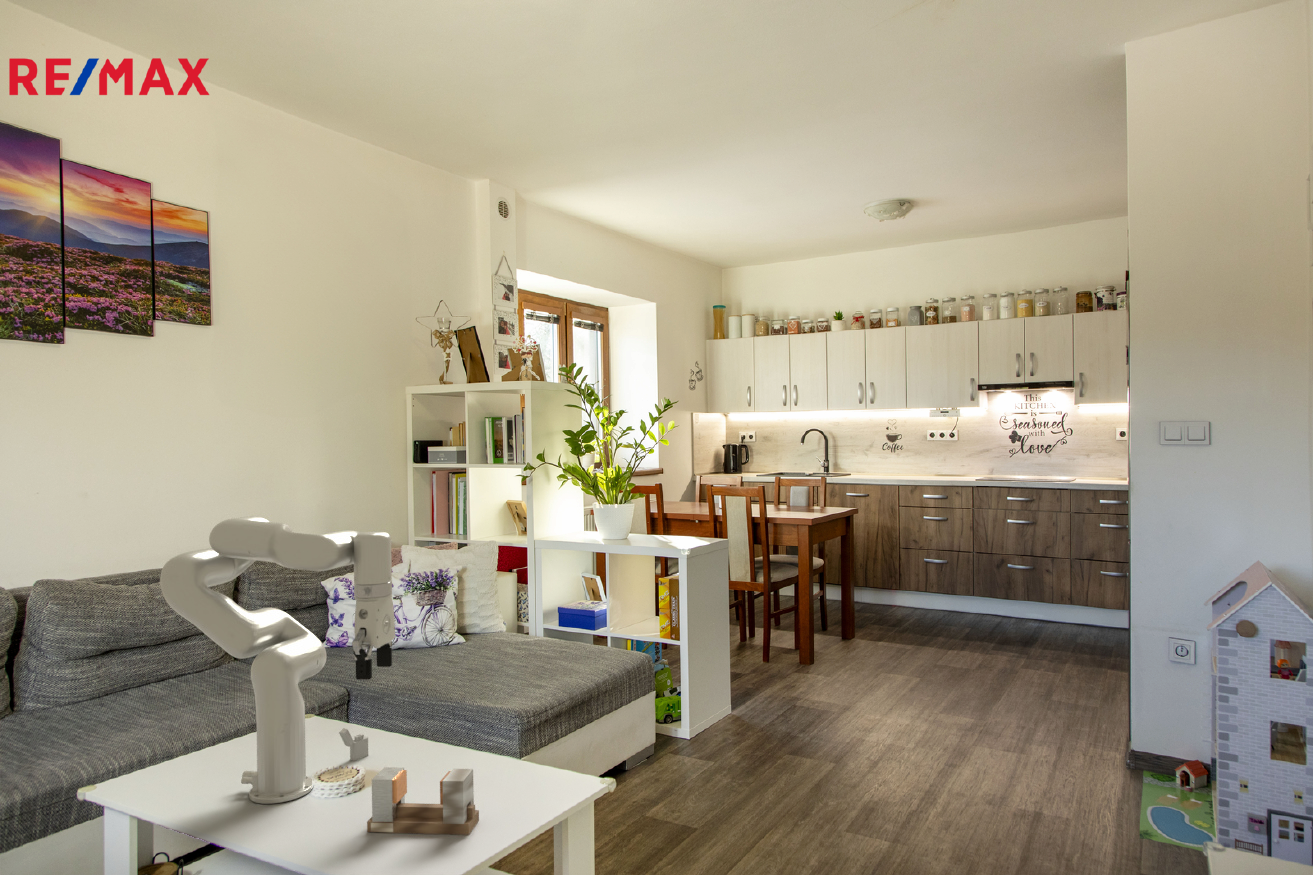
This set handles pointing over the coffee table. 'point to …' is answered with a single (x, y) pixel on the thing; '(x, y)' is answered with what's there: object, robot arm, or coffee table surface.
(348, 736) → the lighter
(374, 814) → the white and wooden block
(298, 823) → the coffee table surface
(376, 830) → the rail
